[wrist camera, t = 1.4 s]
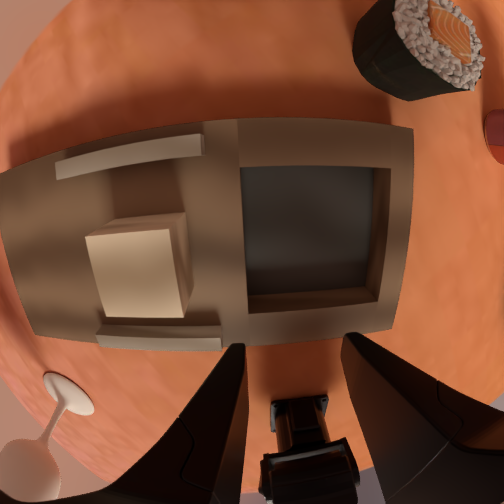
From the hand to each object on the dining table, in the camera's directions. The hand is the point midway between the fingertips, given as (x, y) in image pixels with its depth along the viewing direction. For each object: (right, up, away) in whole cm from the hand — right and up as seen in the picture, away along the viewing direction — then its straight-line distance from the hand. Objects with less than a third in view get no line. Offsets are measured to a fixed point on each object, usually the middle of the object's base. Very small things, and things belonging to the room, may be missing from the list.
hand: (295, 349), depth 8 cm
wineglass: (-27, -17, +19) cm, 37 cm away
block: (-8, +3, +9) cm, 12 cm away
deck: (-7, +4, +12) cm, 15 cm away
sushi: (+10, +19, +8) cm, 23 cm away
